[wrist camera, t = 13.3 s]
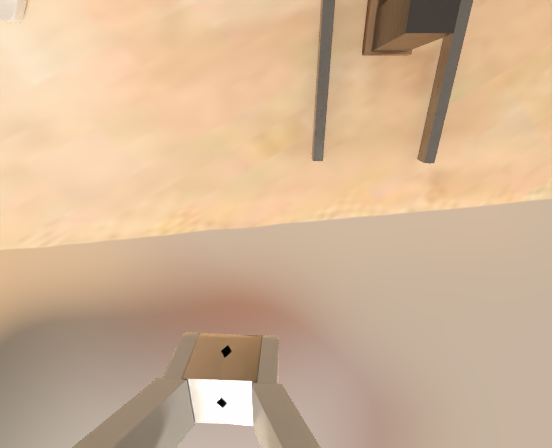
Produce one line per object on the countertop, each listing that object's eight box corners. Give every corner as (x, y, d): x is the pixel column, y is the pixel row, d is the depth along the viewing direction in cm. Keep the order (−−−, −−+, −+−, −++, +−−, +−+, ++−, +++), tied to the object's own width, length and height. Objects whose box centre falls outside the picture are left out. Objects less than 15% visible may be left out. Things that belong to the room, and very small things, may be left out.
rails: (311, 157, 37) (312, 160, 35) (332, -189, 25) (335, -211, 23) (427, 159, 37) (434, 163, 35) (507, -194, 24) (525, -218, 22)
